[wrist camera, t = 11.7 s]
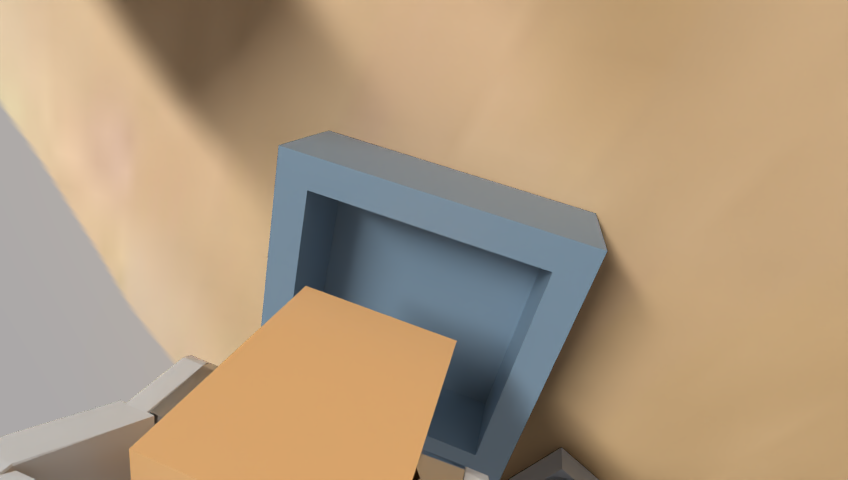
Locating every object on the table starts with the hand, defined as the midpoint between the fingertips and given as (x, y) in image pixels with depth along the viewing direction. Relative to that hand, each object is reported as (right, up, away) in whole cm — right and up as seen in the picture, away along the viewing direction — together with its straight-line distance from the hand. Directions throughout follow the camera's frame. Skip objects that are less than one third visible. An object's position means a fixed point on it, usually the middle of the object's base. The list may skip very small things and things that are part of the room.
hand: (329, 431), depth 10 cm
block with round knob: (0, +1, +2) cm, 2 cm away
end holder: (+2, +2, +6) cm, 7 cm away
